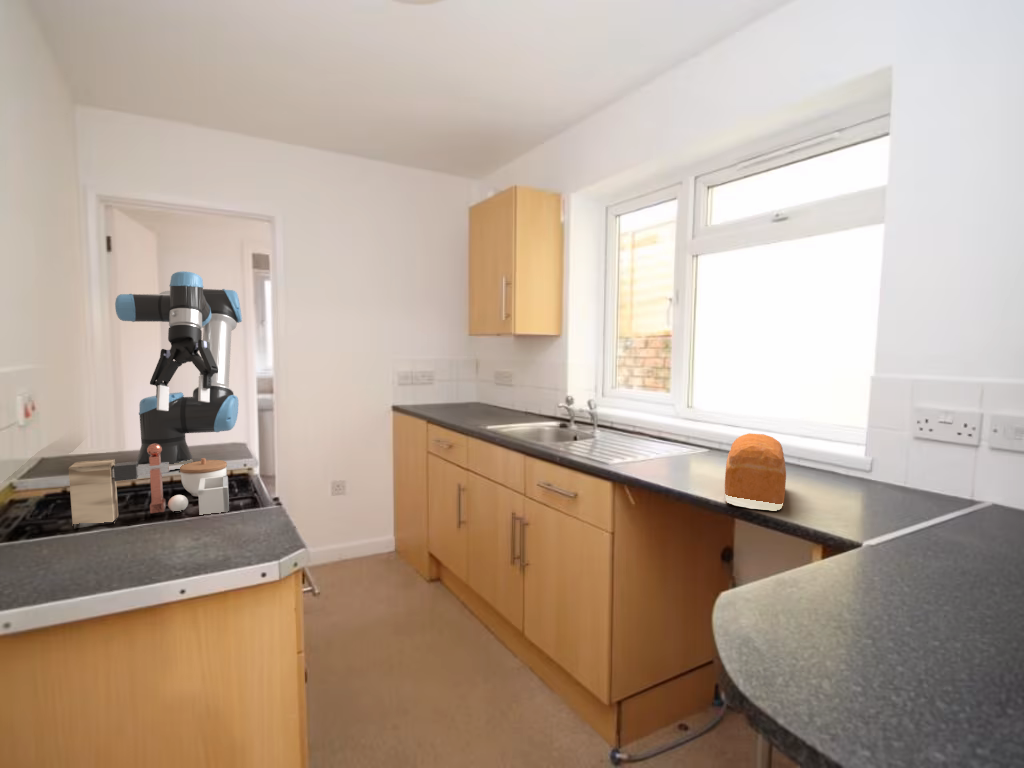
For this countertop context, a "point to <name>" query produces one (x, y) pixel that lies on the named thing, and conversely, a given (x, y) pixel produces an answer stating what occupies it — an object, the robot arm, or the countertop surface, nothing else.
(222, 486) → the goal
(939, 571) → the countertop surface
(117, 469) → the post with horizontal bar
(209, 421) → the robot arm
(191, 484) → the lidded jar
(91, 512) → the paper bag
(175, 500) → the white egg
